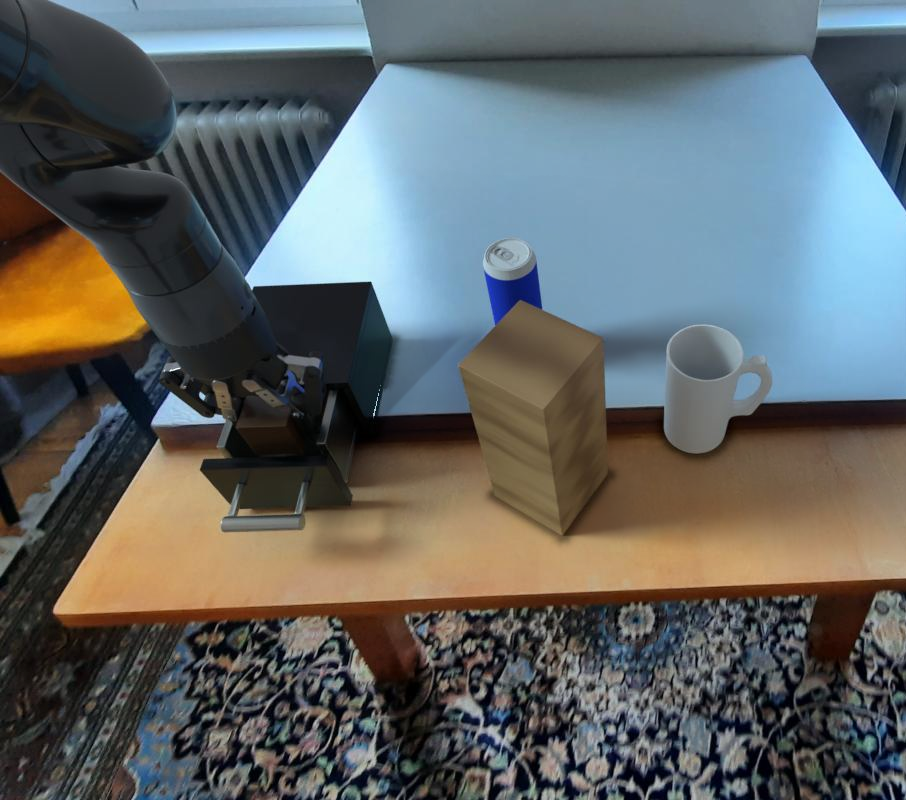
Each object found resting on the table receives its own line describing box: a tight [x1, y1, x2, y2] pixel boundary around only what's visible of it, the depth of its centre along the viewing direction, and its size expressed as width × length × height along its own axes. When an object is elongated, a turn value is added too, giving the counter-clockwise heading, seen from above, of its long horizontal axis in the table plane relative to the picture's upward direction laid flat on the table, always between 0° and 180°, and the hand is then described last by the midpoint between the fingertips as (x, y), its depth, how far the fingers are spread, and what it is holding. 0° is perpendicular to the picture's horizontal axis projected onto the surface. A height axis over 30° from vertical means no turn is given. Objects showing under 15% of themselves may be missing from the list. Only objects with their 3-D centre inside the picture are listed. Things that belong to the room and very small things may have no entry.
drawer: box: [199, 388, 360, 534], centre depth 70 cm, size 17×11×7 cm, turn 0°
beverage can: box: [482, 237, 543, 327], centre depth 76 cm, size 5×5×15 cm
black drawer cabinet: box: [251, 281, 394, 438], centre depth 77 cm, size 14×13×9 cm
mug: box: [663, 323, 773, 454], centre depth 70 cm, size 10×7×12 cm, turn 89°
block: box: [236, 396, 307, 455], centre depth 68 cm, size 4×4×4 cm
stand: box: [457, 300, 609, 536], centre depth 64 cm, size 8×8×20 cm
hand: (284, 432), depth 69 cm, fingers closed on block, 4 cm apart
